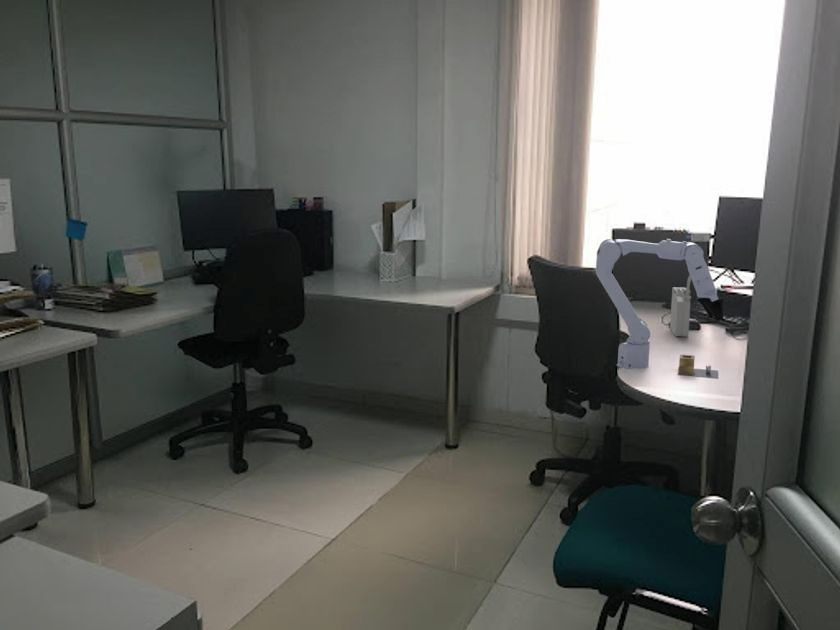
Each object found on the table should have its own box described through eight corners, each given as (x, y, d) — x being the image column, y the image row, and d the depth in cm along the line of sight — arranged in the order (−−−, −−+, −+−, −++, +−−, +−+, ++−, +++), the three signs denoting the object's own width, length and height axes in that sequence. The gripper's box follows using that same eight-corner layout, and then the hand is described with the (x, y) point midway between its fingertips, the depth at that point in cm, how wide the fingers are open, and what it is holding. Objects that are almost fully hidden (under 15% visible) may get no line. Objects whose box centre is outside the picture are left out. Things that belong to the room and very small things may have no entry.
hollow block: (678, 373, 227) (679, 357, 226) (679, 369, 231) (680, 354, 230) (693, 374, 225) (694, 359, 224) (693, 370, 229) (694, 355, 228)
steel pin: (707, 374, 225) (708, 366, 224) (704, 373, 226) (705, 365, 226) (711, 374, 225) (711, 366, 225) (708, 372, 227) (709, 365, 226)
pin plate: (677, 378, 225) (677, 375, 225) (678, 370, 233) (678, 367, 233) (718, 381, 221) (718, 378, 221) (717, 373, 229) (718, 370, 229)
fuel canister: (690, 338, 272) (694, 274, 267) (676, 338, 273) (680, 274, 268) (682, 329, 287) (686, 268, 282) (669, 329, 288) (673, 267, 282)
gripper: (721, 276, 219) (736, 317, 220) (707, 271, 233) (721, 309, 235) (698, 285, 220) (713, 325, 222) (686, 279, 234) (700, 317, 236)
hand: (716, 317), depth 228 cm, fingers open, 7 cm apart
